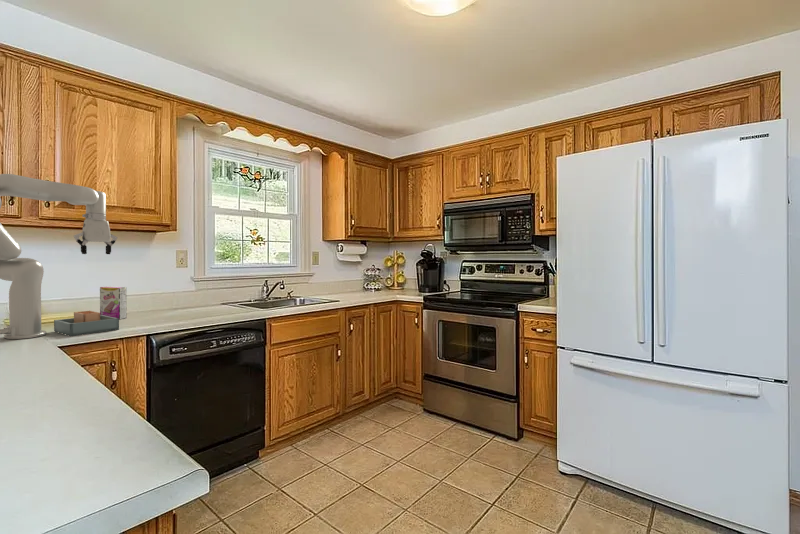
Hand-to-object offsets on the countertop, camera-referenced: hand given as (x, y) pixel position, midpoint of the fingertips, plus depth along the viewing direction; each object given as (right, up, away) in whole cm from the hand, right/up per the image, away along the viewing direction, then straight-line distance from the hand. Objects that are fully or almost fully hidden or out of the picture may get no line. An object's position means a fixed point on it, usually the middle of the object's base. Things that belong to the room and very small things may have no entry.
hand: (96, 254), depth 192 cm
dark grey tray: (+6, -34, -14) cm, 37 cm away
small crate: (+6, -33, -14) cm, 36 cm away
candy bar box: (-4, -33, +18) cm, 38 cm away
